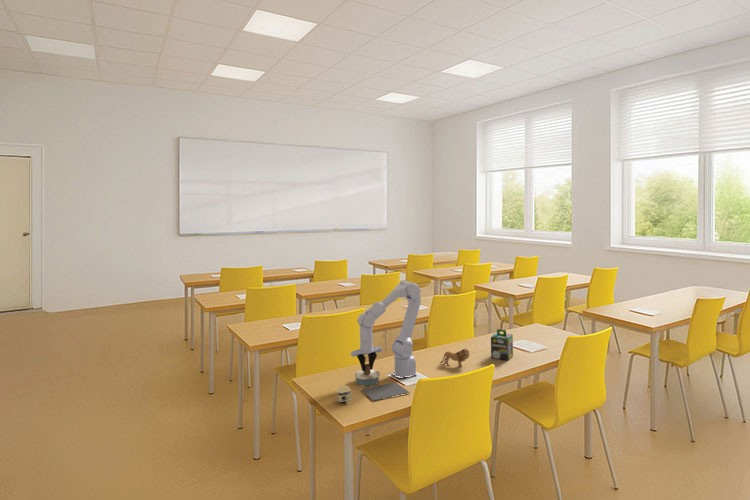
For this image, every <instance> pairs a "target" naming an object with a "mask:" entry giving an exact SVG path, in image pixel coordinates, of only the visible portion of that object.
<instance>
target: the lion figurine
mask: <svg viewBox="0 0 750 500" xmlns="http://www.w3.org/2000/svg"><path fill="white" fill-rule="evenodd" d="M469 351H470V350H468V348H463V349H461V350H459V351H457V352H456V353H455V352H451V351H450V350H448V351H446V352H445V353H444V355H443V357H442V361H440V362H439V363H440V364H442V363H443V362H444V363H443V364H446V365H447V367H450V364H449V360H452V361H454V362H457V363H458V368H459V369H461V368H462V366H463V365H462V362H465V361H467V359H469V357H470V352H469Z"/></svg>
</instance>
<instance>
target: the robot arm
mask: <svg viewBox="0 0 750 500" xmlns="http://www.w3.org/2000/svg"><path fill="white" fill-rule="evenodd" d="M421 291H422V290H421V287H420V286H419V285H418V284H417V283H415V282H410V281H407V280H402V281H400V282H399V283H398V284H397V285H396V286H395V287H394V288H393V290H392V291H391V292H389V294H387V296H385V297H384V299H383V300H381V301H376V302H373V303H372V306H371V307H369V308H368V309H366V310H365V312H362V313H361V314H359V315H358V318H357V319H356V321H357V323H358V324H359V348H358V349H356V350H352V351H350V356H351V357H352V358H355V357H357V359H358V361H359V364H360V367H361V370H363V371H365V364H366V356H365V355H367V357H368V364H370V369H371V370H373V368H374V363H375V361H376V359H377V357H378V354H377V353H383V347H381V346H378V347H377V346H376V347H374V341H373V340H374V339H373V338H374V337H373V333H374V332H373V326H374V325H375V324H376V323H375V322H376V321H377V320H378V319H379V318H380V317H381V316H383V314H384V313H385V312H386V310H387V307H389V306H390V305H391V304H392V303H394V302H396V300H397V299H399V298H405V299H406V300H407V303H408V304H407V308H406V312H405V315H404V318H403V320H402V321H403V322H402V325H401V328H400V333H399V334H398V336H396V337H395V340H394V341H393V343H392V345H391V350H392V352H393V353H394V354H393V355H394V372H391V373H392V374H395V375H396V376H400V377H405V376H410V375H412V376H413V377H415V376H414V375H417V371H416V370H417V368H416V363H417V362H416V358H415V357H414V355H413V345H414V343H413V341H412V335H413V332H414V329H415V324H416V321H417V318H418V314H419V311H420V307H421V303H422V302H421V301H422V299H421ZM392 374H391V375H392Z"/></svg>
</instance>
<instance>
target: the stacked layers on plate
mask: <svg viewBox="0 0 750 500" xmlns="http://www.w3.org/2000/svg"><path fill="white" fill-rule="evenodd" d="M351 391H352V389H351V387H350V386H349V385H342V386H338V387H337V389H336V392H337V393H336V401H337V402H340V403H342V402H345V401H346V402H345V404H346V403H349V404H351V403H350V402H352V396H351V395H352V392H351Z"/></svg>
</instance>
